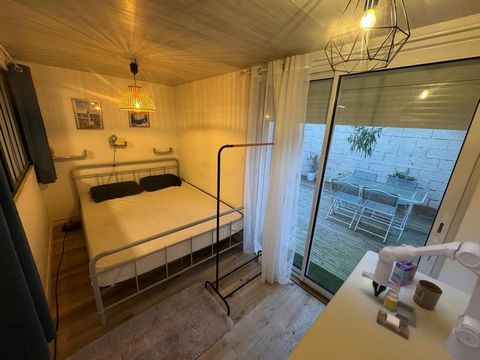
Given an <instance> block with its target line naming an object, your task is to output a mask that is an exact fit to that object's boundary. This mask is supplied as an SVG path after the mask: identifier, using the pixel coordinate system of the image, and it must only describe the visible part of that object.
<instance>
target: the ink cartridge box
mask: <svg viewBox="0 0 480 360" xmlns="http://www.w3.org/2000/svg"><path fill="white" fill-rule="evenodd" d="M418 268H419V265H418V263H415V260H407V261H396V262H395V264H394V266H393V269H392V272H391V276H390V279H389V281H391V282H393V283H394V284H396V285H398V286H400V287H405V286H408V285H411V284H412V282H413V280H414V278H415V276H416V273H417V270H418Z"/></svg>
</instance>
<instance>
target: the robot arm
mask: <svg viewBox="0 0 480 360" xmlns="http://www.w3.org/2000/svg"><path fill="white" fill-rule="evenodd" d="M377 255H378V260H377V263H376V267H375V269H374V273H372V272H369V271H365V270H363V271H362V274H361V277H363V278H364V277H365V278H367V279H369V280H372V287H373V291H374V293H373V294H374V295H373V296H374V297H376V298H378V297H379V296H380V295H381V294H382V293H383V292H386V291H387V288H389V289H392V290H395V291H396V292H398V294H400V292H401V287H400V286H398V285H396V284H395V283H394V282H393V281H391V280H390V279H391V276H392V273H393V270H394V265H395V264H394V263H395V261H396V262H399V261H407V260H410V261H417V260H418V258H419V257H445V258H447V259H448V260H451V261H453V262H456V261H457V262H458V263H459V264H460V265H461V266H463V267H464V268H467V269H468V270H469V271H471V272H473V273H474V274H475V276H476V277H477V280H476V281H475V285H474V288H473V290H472V292H471V296H470V297H469V300H468V304H467V306H466V309H465V310H464V313H463V314H461V315H459V316H458V318H457V323H456V326H454V327H452V328H451V331H450V333H449V335H448V338H447V340H446V342H445V344H444V347H445V350H446V351H447V353H448V354H449V355H450V356H451V357H453V359H455V360H480V243H478V242H475V241H469V240H468V241H462V242H461V241H453V242H447V243H446V242H445V243H440V244H433V245H427V246H420V247H419V246H418V247H415V246H414V245H412V244H409V245H407V244H405V243H402V244H401V245H398V246H393V245H390V246H387V245H386V246H384V247H383V248H382V249H380V250H379V252H378V254H377Z"/></svg>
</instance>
